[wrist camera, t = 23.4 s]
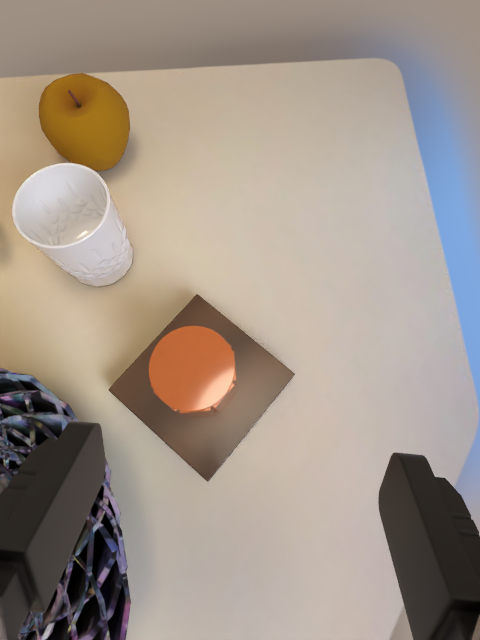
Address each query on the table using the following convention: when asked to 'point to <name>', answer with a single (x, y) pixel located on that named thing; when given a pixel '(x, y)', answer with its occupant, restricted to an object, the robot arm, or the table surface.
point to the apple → (85, 120)
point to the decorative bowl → (95, 538)
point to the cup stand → (223, 429)
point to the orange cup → (194, 371)
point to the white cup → (74, 222)
